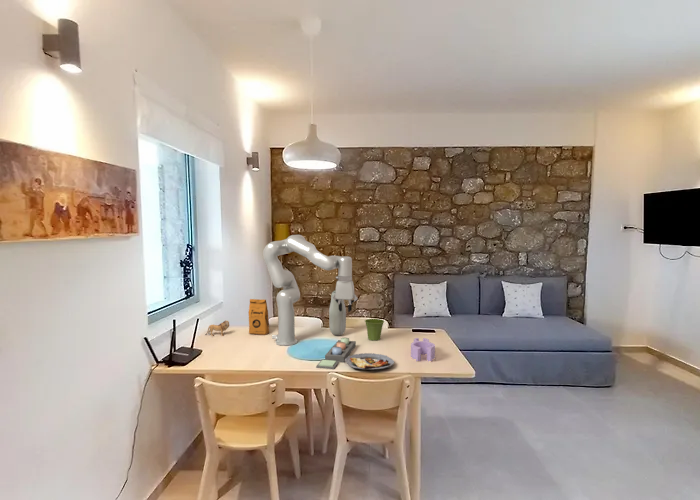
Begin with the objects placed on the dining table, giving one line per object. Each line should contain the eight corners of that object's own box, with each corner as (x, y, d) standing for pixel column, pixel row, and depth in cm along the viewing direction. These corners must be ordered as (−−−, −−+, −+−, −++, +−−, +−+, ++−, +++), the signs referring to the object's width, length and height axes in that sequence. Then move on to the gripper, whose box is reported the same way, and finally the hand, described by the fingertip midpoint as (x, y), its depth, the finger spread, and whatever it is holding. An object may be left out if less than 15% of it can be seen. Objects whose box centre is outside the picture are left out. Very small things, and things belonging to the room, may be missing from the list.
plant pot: (381, 342, 255) (381, 323, 254) (361, 340, 259) (362, 322, 259) (386, 337, 266) (386, 319, 266) (368, 335, 270) (368, 317, 270)
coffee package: (265, 336, 269) (264, 301, 267) (246, 335, 272) (246, 300, 270) (271, 332, 279) (271, 298, 277) (253, 330, 281) (252, 297, 280)
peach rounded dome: (335, 351, 234) (335, 344, 233) (337, 348, 238) (337, 341, 238) (344, 352, 233) (344, 344, 232) (346, 349, 237) (346, 342, 237)
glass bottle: (348, 334, 273) (348, 290, 270) (337, 338, 265) (337, 292, 263) (337, 331, 279) (337, 288, 277) (326, 335, 272) (326, 290, 269)
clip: (409, 349, 242) (409, 337, 242) (431, 350, 242) (432, 338, 241) (411, 361, 223) (412, 348, 222) (436, 362, 222) (436, 349, 221)
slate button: (331, 356, 225) (331, 349, 225) (333, 354, 230) (333, 346, 229) (340, 357, 224) (340, 349, 224) (342, 354, 229) (342, 347, 228)
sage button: (339, 346, 242) (339, 339, 242) (341, 344, 247) (341, 337, 247) (348, 347, 241) (348, 340, 241) (350, 344, 246) (350, 337, 246)
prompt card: (316, 367, 213) (316, 364, 213) (321, 361, 222) (321, 358, 222) (334, 369, 211) (334, 366, 211) (338, 363, 220) (338, 360, 220)
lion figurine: (229, 333, 275) (229, 319, 274) (229, 335, 270) (229, 321, 269) (205, 334, 272) (205, 320, 271) (204, 337, 267) (204, 322, 266)
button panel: (325, 360, 223) (325, 355, 223) (338, 345, 250) (338, 340, 250) (344, 362, 221) (344, 356, 221) (355, 346, 248) (355, 341, 248)
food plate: (401, 369, 210) (401, 362, 210) (356, 376, 202) (356, 368, 202) (380, 355, 234) (380, 349, 234) (339, 360, 226) (339, 354, 226)
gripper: (328, 279, 240) (328, 311, 241) (358, 280, 236) (358, 313, 237) (332, 277, 247) (332, 309, 248) (361, 278, 243) (361, 310, 245)
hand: (345, 310), depth 243 cm, fingers open, 4 cm apart
